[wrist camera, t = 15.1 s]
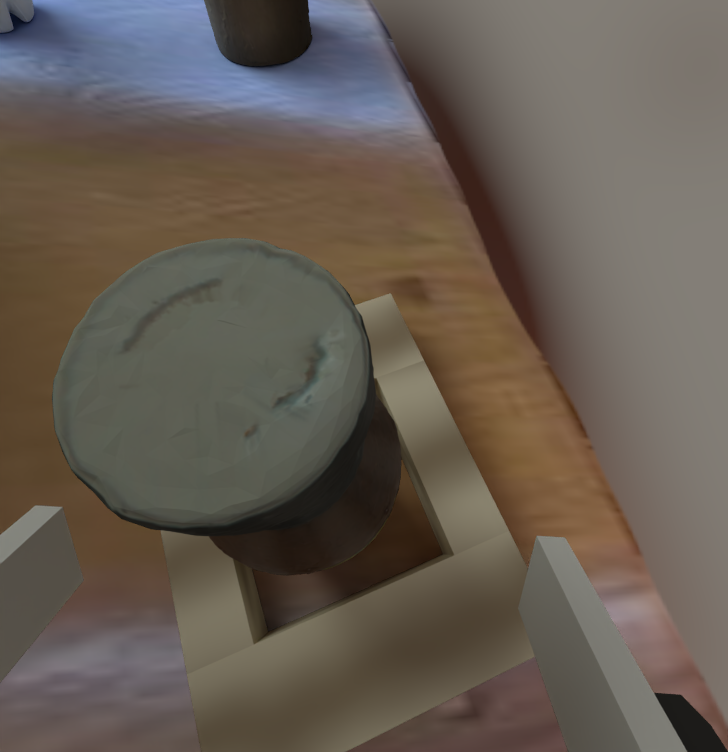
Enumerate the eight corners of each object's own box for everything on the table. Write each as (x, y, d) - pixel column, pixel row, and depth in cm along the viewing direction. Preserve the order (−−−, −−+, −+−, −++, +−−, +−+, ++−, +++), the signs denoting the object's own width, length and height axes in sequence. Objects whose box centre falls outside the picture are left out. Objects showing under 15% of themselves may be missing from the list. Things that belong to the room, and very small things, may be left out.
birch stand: (157, 397, 26) (132, 379, 23) (387, 318, 28) (390, 293, 25) (235, 778, 19) (213, 818, 16) (537, 629, 21) (564, 641, 18)
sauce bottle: (267, 460, 24) (-22, 188, 6) (369, 436, 25) (384, 123, 7) (284, 575, 22) (-120, 708, 4) (396, 546, 22) (541, 533, 4)
